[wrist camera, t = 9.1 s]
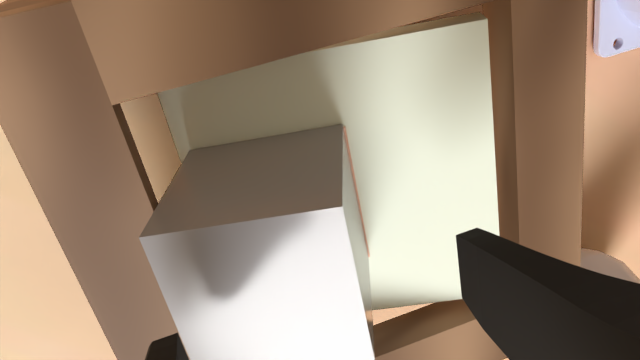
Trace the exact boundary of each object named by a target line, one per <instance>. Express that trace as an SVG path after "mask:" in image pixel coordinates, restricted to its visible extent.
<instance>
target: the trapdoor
mask: <svg viewBox="0 0 640 360" xmlns="http://www.w3.org/2000/svg"><path fill="white" fill-rule="evenodd" d="M157 94H158V97H159V100H160V103H161V106H162V109H163V112H164V114H165V117H166V120H167V123H168V126H169V129H170V132H171V135H172V137H173V140H174V143H175V146H176V149H177V152H178V155H179V158H180V161H181V163H182V162H183V160H184V159H185V157H186V155H187V154H188V152H189V150H193V149H199V148H204V147H210V146H216V145H222V144H228V143H234V142H239V141H245V140H251V139H257V138H263V137H268V136H274V135H280V134H286V133H292V132H298V131H303V130H309V129H315V128H321V127H327V126H332V125H338V124H343V127H344V132H345V138H346V143H347V148H348V153H349V158H350V163H351V168H352V173H353V179H354V184H355V189H356V194H357V199H358V204H359V209H360V214H361V219H362V225H363V230H364V235H365V240H366V245H367V250H368V258H369V273H370V288H371V304H372V310H378V309H386V308H394V307H402V306H410V305H418V304H426V303H434V302H442V301H450V300H458V299H462V294H461V284H460V274H459V264H458V254H457V244H456V235H457V234H460V233H463V232H466V231H469V230H472V229H475V228H480V229H482V230H485V231H488V232H490V233H493V234H495V235H498V236H499V217H498V199H497V181H496V163H495V145H494V126H493V108H492V90H491V72H490V54H489V36H488V19H487V18H486V17H485V16H484V15H483V14H482V13H481V12H476V13H470V14H465V15H460V16H454V17H449V18H444V19H438V20H433V21H428V22H422V23H417V24H412V25H406V26H401V27H396V28H393V29H389V30H385V31H382V32H378V33H374V34H371V35H367V36H363V37H360V38H356V39H353V40H349V41H345V42H342V43H338V44H334V45H331V46H327V47H323V48H320V49H316V50H312V51H309V52H305V53H301V54H298V55H294V56H290V57H287V58H283V59H280V60H276V61H272V62H269V63H265V64H261V65H258V66H254V67H250V68H247V69H243V70H239V71H236V72H232V73H228V74H225V75H221V76H218V77H214V78H210V79H207V80H203V81H199V82H196V83H192V84H188V85H185V86H181V87H177V88H174V89H170V90H166V91H163V92H159V93H157Z"/></svg>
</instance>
